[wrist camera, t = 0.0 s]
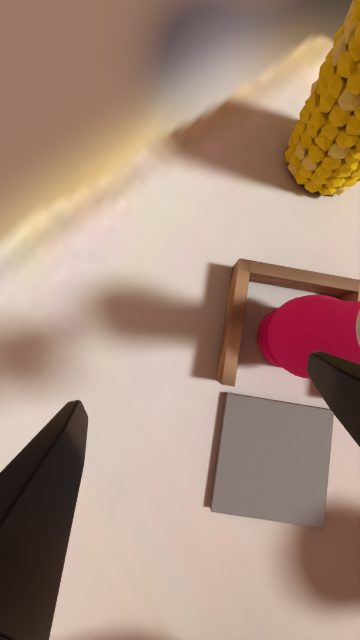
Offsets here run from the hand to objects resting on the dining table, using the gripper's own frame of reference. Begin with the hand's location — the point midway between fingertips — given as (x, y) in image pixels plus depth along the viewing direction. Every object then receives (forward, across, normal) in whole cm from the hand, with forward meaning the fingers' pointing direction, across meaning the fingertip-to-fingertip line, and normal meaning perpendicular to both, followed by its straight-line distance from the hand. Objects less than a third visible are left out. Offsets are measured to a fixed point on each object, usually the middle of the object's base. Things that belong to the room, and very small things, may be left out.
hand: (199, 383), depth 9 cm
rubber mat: (+6, -7, +18) cm, 20 cm away
